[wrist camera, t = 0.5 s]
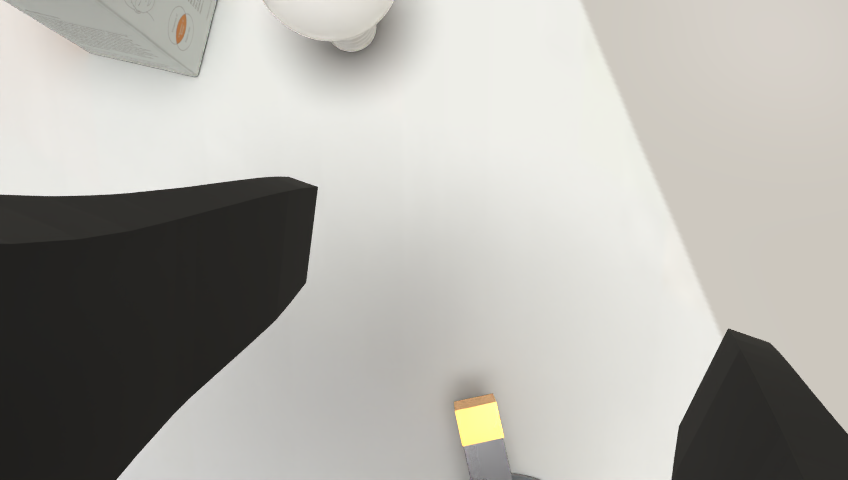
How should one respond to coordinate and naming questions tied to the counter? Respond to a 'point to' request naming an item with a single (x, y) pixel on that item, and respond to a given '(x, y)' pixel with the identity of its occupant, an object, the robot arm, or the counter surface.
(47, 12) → the small box
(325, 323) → the counter surface
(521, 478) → the post base
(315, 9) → the lightbulb
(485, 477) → the collar
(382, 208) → the counter surface
